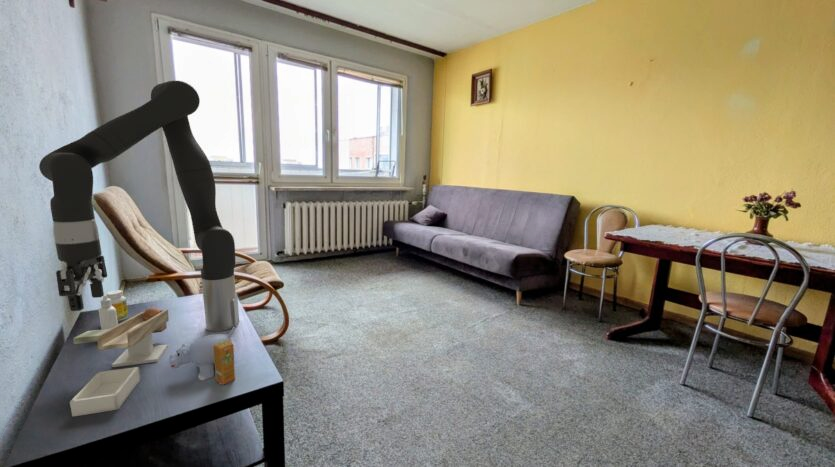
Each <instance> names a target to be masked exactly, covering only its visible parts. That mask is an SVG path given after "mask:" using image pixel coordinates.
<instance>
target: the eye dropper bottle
mask: <svg viewBox="0 0 835 467" xmlns="http://www.w3.org/2000/svg"><path fill="white" fill-rule="evenodd" d="M102 297H103V298H102V299H100V300H99V302H100V307H99V308H98V317H99V323H100V328H101V329H100V330H102V329H111V328H113V327H115V326H117V325H118V324H119V321H118V320H117V314H116V309H115V308H114V307H113V306H112V303H111V299H109V298H107V294H105V295H104V296H102Z"/></svg>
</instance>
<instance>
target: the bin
mask: <svg viewBox="0 0 835 467" xmlns="http://www.w3.org/2000/svg"><path fill="white" fill-rule="evenodd" d="M140 381H141V374H140V366H135V367H127V368H121V369H112V370H111V369H110V370H104V371H98V372H97V373H96V374H95V375H94V376H93V377H92V378H91V379H90V380H89V381H88V382H87V383H86V385H84V387H82V389H81V390H80V391H79V392H77V394H76V395H75V396H74V397H73V398H72V399H71V400H70V401H69V406H70V410H71V416H72V418H73V417H78V416H79V417H80V416H85V415H91V414H98V413H103V412H111V411H115V410H116V411H117V410H120V408H121V407H122V406H123V404H124V403H125V401H126V400H127V399H128V397H129V396H130V394H132V392H133V391H134V389H135V388H136V386H137V385H138V384H139V382H140Z"/></svg>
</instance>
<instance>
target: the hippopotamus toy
mask: <svg viewBox="0 0 835 467" xmlns="http://www.w3.org/2000/svg"><path fill="white" fill-rule="evenodd" d="M235 328H236V327H233V328H231V330H230V331H229V332H228V334H224V333H223V334H222V333H220V334H219V333H215V334H214V333H213V334H208V335H205V336H201V337H200V338H198V339H196V340H195V341H193V342H191V343H190V344H189V346H186V344H185V343H183V344H181V347H179V348H178V349H177V350H176V353H175V354H172V355H170V356H169V357H170V358H169V359H168V360H169V365H170V368H171V369H177V368H180V367H181V366H183V365H187V364H190V363H193V364H194V365H195V367H199V373H198V375H197V377H198V378H197V379H198V380H199V381H205V380H207V379H211V378H213V377H214V375H215V368H214V365H215V359H214V345H215V344H218V343H220V342H223V341H225V340H227V341H229V342H231V343H232V344H233V345H234V343H233V341H232V339H231V338H232V337H233V335H234V333H235Z"/></svg>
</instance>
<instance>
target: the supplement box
mask: <svg viewBox="0 0 835 467" xmlns="http://www.w3.org/2000/svg"><path fill="white" fill-rule="evenodd" d="M232 343H233V342H232ZM232 343H231V342H229V341H227V340H225V341H223V342H220V343H218V344H215V345H214V359H215V363H214V375H215V381H216V382H217V383H218V382H219V383H218V384H220V383H221V384H220V385H222V386H225V385H227V384H228V383H230V382H232V381H234V380H235V379H236V375H235V372H236V371H235V353H234V352H235V351H234V350H235V349H234V343H233V344H232ZM233 379H234V380H233ZM226 383H227V384H226ZM224 384H225V385H224Z"/></svg>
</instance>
